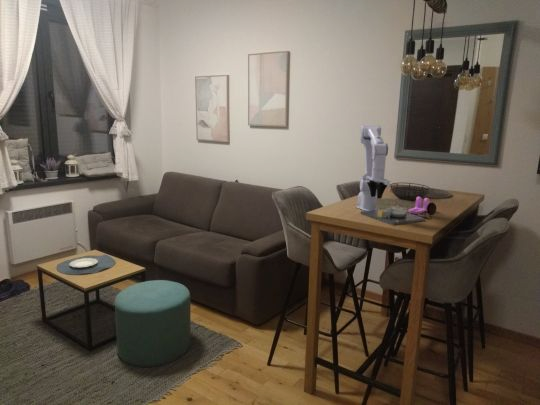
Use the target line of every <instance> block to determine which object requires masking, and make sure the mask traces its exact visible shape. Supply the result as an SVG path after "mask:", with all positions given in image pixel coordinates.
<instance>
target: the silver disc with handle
mask: <svg viewBox="0 0 540 405" xmlns="http://www.w3.org/2000/svg"><path fill="white" fill-rule="evenodd" d="M386 209H387V210H378V216H379V217H386V216H392V217H406V216H407V213H408V209H407V207H401V206H399V205H398V204H396V205H395V206H388V207H387V208H386Z"/></svg>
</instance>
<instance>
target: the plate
mask: <svg viewBox="0 0 540 405" xmlns="http://www.w3.org/2000/svg"><path fill="white" fill-rule="evenodd" d="M378 209H379V208H378ZM379 210H387V208H380V209H379ZM360 215H363V216H365V217H368V218H371V219H374V220H376V221H379V222H382V223H386V224H388V225H391V226H395V225H396V226H397V225H403V224H404V225H405V224H410V223H417V222H424V221H425V218H422V217H419V216H417V214H411V213H408V212H407V216H406V217H392V216H386V217H379V216H378V210H370V211H365V210H362V211H361V210H360Z"/></svg>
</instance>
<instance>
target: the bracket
mask: <svg viewBox="0 0 540 405" xmlns="http://www.w3.org/2000/svg"><path fill="white" fill-rule="evenodd" d="M415 198H416V199H415V202H414V203H415V204H414V207H412V208H409V209H407V213H408V212H409V214H411V213H413V214H412V215H418V214H419V213H422V212H423V213H425V212H424V211H426V212H427V206H428V204H429V203H430V198H428V197H424V199H422V197H421V196H416V197H415ZM422 200H423V203H422Z"/></svg>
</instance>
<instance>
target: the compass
mask: <svg viewBox="0 0 540 405" xmlns="http://www.w3.org/2000/svg"><path fill="white" fill-rule="evenodd" d="M436 212H437V205H436V203H435V202H432V201H431V202H429V204H428V206H427V211H426V213H425V212H423V213H420V214H416V216H419V217H422V218H425V219H432V217H431V216H434V215H435V214H436Z"/></svg>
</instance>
